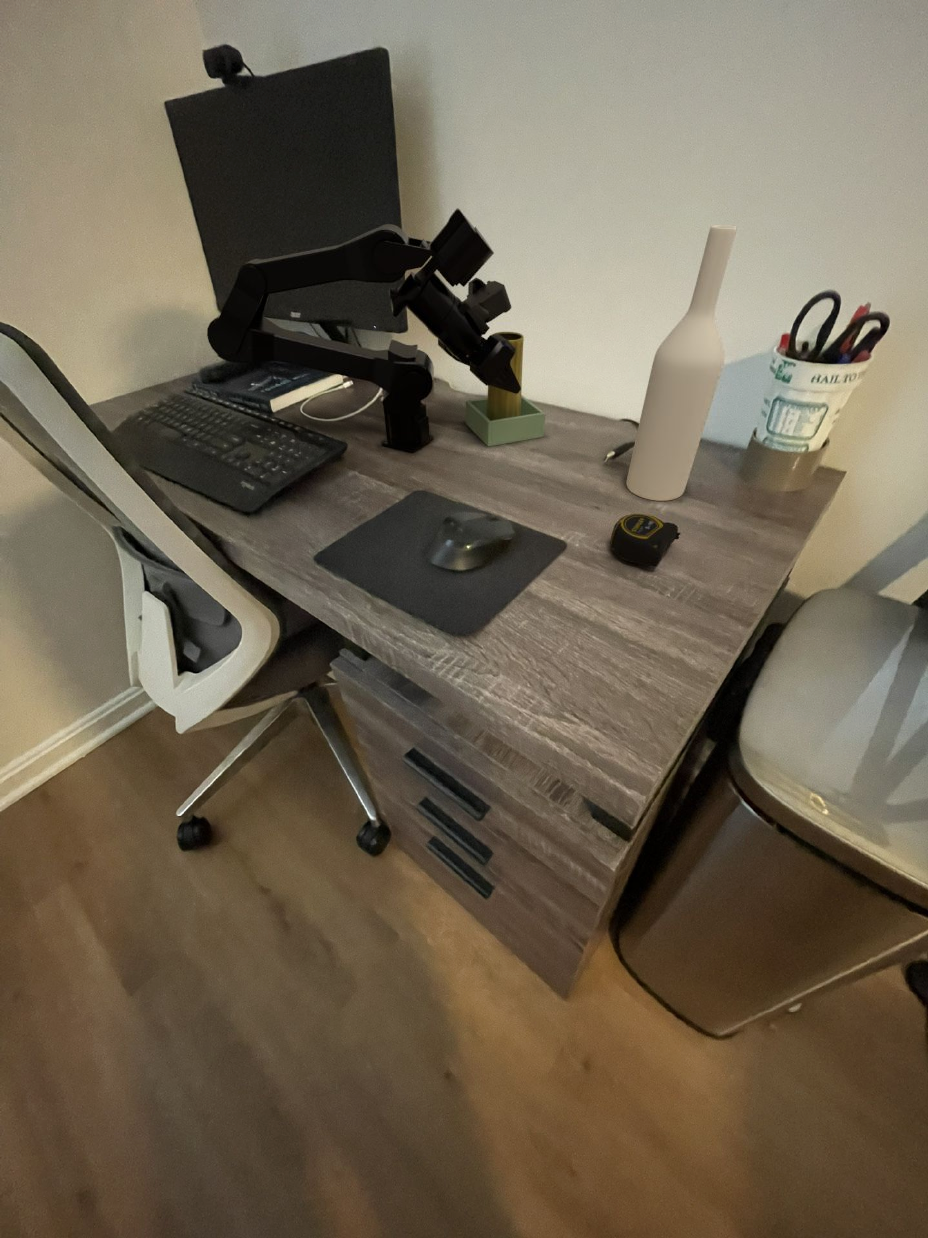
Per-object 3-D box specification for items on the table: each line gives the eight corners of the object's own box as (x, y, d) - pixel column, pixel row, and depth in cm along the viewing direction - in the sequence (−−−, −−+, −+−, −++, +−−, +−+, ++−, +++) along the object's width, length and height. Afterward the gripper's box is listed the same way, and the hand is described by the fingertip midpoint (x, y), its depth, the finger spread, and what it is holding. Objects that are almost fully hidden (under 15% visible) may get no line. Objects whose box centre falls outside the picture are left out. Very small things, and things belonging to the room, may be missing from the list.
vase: (509, 417, 92) (514, 328, 83) (527, 430, 88) (534, 338, 78) (479, 424, 90) (480, 333, 81) (496, 437, 86) (499, 343, 77)
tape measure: (653, 577, 59) (662, 550, 56) (598, 556, 62) (604, 529, 59) (675, 549, 63) (684, 523, 60) (622, 531, 66) (629, 505, 63)
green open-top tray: (487, 446, 85) (488, 422, 82) (465, 423, 92) (465, 400, 89) (543, 437, 87) (545, 413, 85) (517, 415, 94) (519, 392, 92)
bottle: (616, 490, 74) (671, 227, 53) (639, 469, 78) (698, 220, 58) (671, 507, 70) (753, 232, 50) (692, 484, 75) (774, 224, 54)
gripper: (505, 271, 65) (570, 356, 75) (454, 251, 78) (515, 325, 88) (448, 346, 68) (518, 417, 79) (408, 315, 81) (473, 380, 92)
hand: (506, 381), depth 84 cm, fingers open, 9 cm apart
